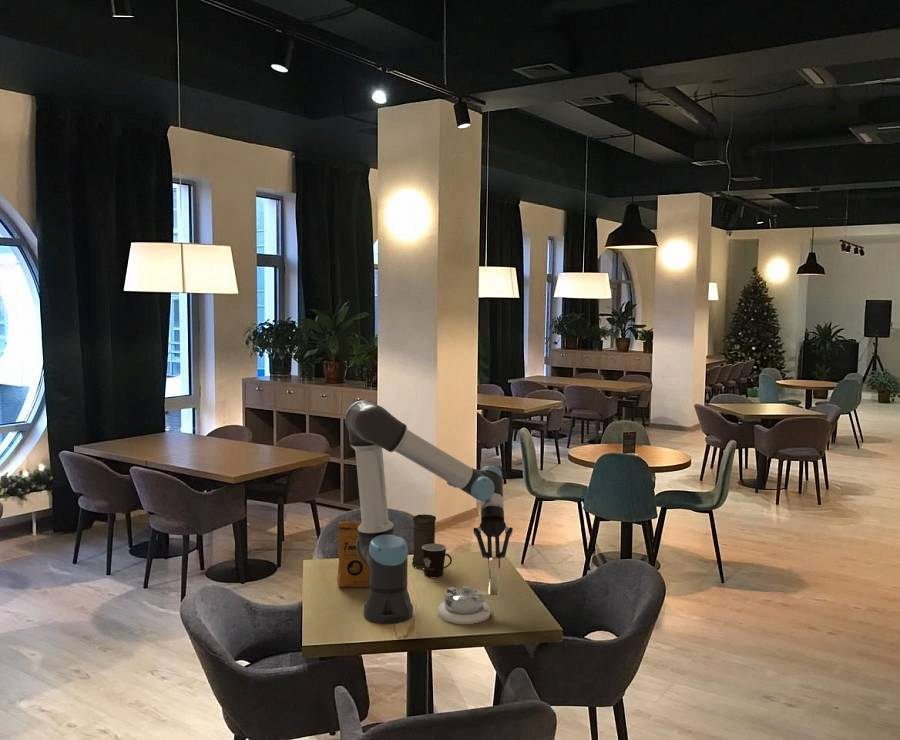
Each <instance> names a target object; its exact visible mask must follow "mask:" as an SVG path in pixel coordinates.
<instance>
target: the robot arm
mask: <svg viewBox="0 0 900 740" xmlns="http://www.w3.org/2000/svg"><path fill="white" fill-rule="evenodd" d="M344 423H345V427H346V429H347V430H348V437H349V438H348V439H349V446H350V447H351V448H352V449H353V450H354V451H355V461H356V471H357V473H356V474H357V475H356V476H357V483H358V485H357V486H358V494H359V506H360V517H361V519H360V520H361V522H362V523H361V524H360V525H359V527H358V539H357V543H356V547H357V552H358V555H359V557H360V558H361V560H362V561H363V562H364V563H365V564H366V565H367V567H368V568H369V571H370V574H369V584H370V585H369V587H368V588H369V590H368V593H367V596H366V601H365V604H364V606H363V617H364V619H366V620H368V621H370V622H372V623H373V622H374V623H378V624H397V623H401V622H405V621H407V620H409V619H411V618H412V617H413V616H414V615H413V614H414V606H413V604H412V601H411V597H410V594H409V591H408V565H409V564H408V563H409V562H408V557H409V556H408V555H409V549H408V544H407V542H406V539H404V538H403V537H401V536H397V535H395V527H394V523H393V522H392V521H390V520H389V511H388V509H389V508H388V499H387V497H388V496H387V488H386V486H387V485H386V479H385V477H386V476H385V464H384V454H383V453H384V452H383V450H385V451H387V452H389V453H393V452H395V453H397V454H398V455H401V456H403V457H404V458H406V459H408V460H409V461H411V462H413V463H415V464H416V465H418V466H420V467H421V468H423V469H425V470H427V471H428V472H430V473H432V474H433V475H435V476H437V477H438V478H441V480H444V481H446V484H447V485H448V486H451V487H453V488H457V489H460V490H461V491H463V492H464V493H466V494H467V495H469V496H471V497H472V498H474V500H478V501H480V523H479V526H477V527H474V528H473V531H472V532H473V534H474V537H476V539H477V543H478V547H479V550H480V553H481V555H482V556H481V557H482V558H484V559H485V558H486V559H487V560H488V561H487V562H488V565H487V566H488V568H489V558H490V557H497V558H499V569H500V568H501V559H504V558H505V557H506V555H507V550H508V546H509V541H510V538H511V536H512V535H513V530H514V528H513V527H509V526H507V524H506V521H505V510H504V509H505V507H504V488H503V487H504V484H503V483H504V479H503V473H502V469H500V468H499V467H498V466H496V465H486V466H484V467H482V468H481V469H476V468H473V467H470V466H468V465H467V464H466V463H464V462H462V461H461V460H458V459H457V458H456V457H454V456H452V455H451V454H449V453H447V451H444V450H442V449H441V448H439V447H437V446H435V445H434V444H432V443H431V442H429V441H427V440H425V439H424V438H422V437H421V436H420V435H419V436H418V435H417V434H416V433H414V432H413V431H410V430H409V429H408V426H407V424H405V423H403V422H402V421H400V420H399V419H398V418H397V417H395V416H394V415H393V414H391V413H390V412H389V411H388V410H387V409H386V408H384V406H381V405H378V404H377V403H376V402H374V401H372V400H365V399H364V400H363V399H362V400H358V401H356V402H353V403H352V404H351V405H350V406H349V407H348V408H347V410H346V412H345V415H344ZM482 532H483V534H484V535H485V536H486V537H487V538H486V539H487V540H486V541H487V550H486V546H485V544H484V540H483V537H482ZM503 533H505V535H504V536H505V537H504V541H503V545H502V549H501V551H500V536H501V535H502V534H503ZM492 538H494V542H495V546H494V547H495V548H494V549H495V555H493V549H492V547H493V545H492V541H493V540H492Z"/></svg>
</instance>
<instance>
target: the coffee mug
mask: <svg viewBox="0 0 900 740" xmlns="http://www.w3.org/2000/svg"><path fill="white" fill-rule="evenodd" d="M446 552H447V545H444V544H441V543H435V544H426V545H423V546H422V554H423V564H424V569H423V571H424V576H425V575H426V576H428V577H427V578H429V577H439V578H441V577H440V576H442V575H443V574H444V569H446V568H448V567H449V566H451V564H452V562H453V559H452V557H451V555H450V554H448V553H446ZM446 557H448V558H449V563H448V564H447V565H445V561H446V560H445V559H446ZM426 576H425V577H426ZM442 577H443V576H442Z"/></svg>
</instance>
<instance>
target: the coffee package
mask: <svg viewBox="0 0 900 740" xmlns="http://www.w3.org/2000/svg"><path fill="white" fill-rule="evenodd" d="M337 523H338V524H337V528H338V541H339V543H338V545H339V546H338V551H337V554H338V566H337V575H336V576H337V578H336V583H337V586H338V587H339V588H340V587H343V588H369V585H370V584H369V574H370V571H369V568H368V567H367V565H366V564H365V563H364V562H363V561H362V560H361V558H360V557H359V555H358V552H357V547H356V543H357V539H358V527H359V525H360V524H361V523H362V521H338V522H337Z"/></svg>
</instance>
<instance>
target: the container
mask: <svg viewBox="0 0 900 740" xmlns="http://www.w3.org/2000/svg"><path fill="white" fill-rule="evenodd" d="M412 521H413V551H412V552H413V554H412V555H413V557H412V562H411V566H412V567H413V566H414V567H413V568H415V567H416V568H415V569H418V568H424V564H423V554H422V546H423V545H426V544H436V527H435V526H436V525H435V524H436V521H437V518H436V515H432V514H416V515H414V516H413V517H412Z"/></svg>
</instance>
